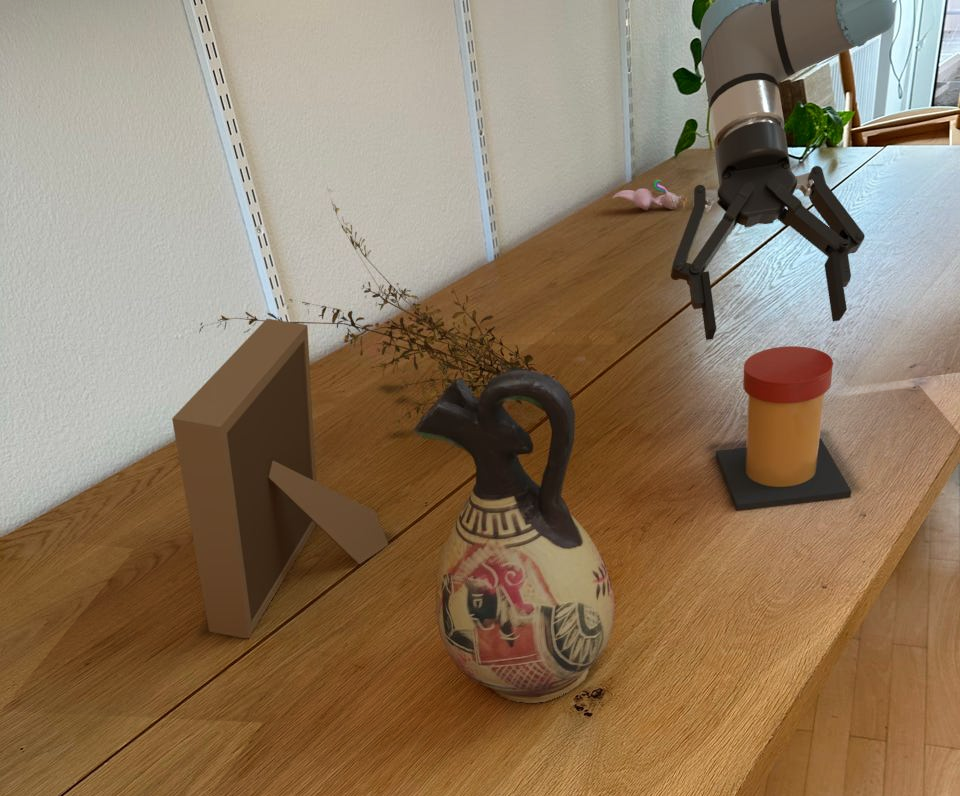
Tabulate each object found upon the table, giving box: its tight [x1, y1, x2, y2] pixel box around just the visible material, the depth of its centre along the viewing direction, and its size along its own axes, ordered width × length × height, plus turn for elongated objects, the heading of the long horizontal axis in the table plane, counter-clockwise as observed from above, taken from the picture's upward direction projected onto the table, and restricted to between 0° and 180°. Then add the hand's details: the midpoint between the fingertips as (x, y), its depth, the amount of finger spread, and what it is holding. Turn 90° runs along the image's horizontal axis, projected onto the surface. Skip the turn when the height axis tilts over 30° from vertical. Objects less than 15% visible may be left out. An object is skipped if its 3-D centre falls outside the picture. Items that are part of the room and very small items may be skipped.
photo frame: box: [171, 318, 389, 639], centre depth 92 cm, size 15×22×25 cm
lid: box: [742, 345, 834, 403], centre depth 94 cm, size 9×9×2 cm
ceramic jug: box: [413, 368, 616, 704], centre depth 73 cm, size 17×15×30 cm
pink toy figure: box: [611, 179, 688, 211], centre depth 181 cm, size 6×6×15 cm
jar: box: [745, 393, 825, 487], centre depth 97 cm, size 8×8×12 cm
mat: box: [715, 437, 852, 512], centre depth 101 cm, size 12×12×1 cm
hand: (774, 325), depth 97 cm, fingers open, 13 cm apart
